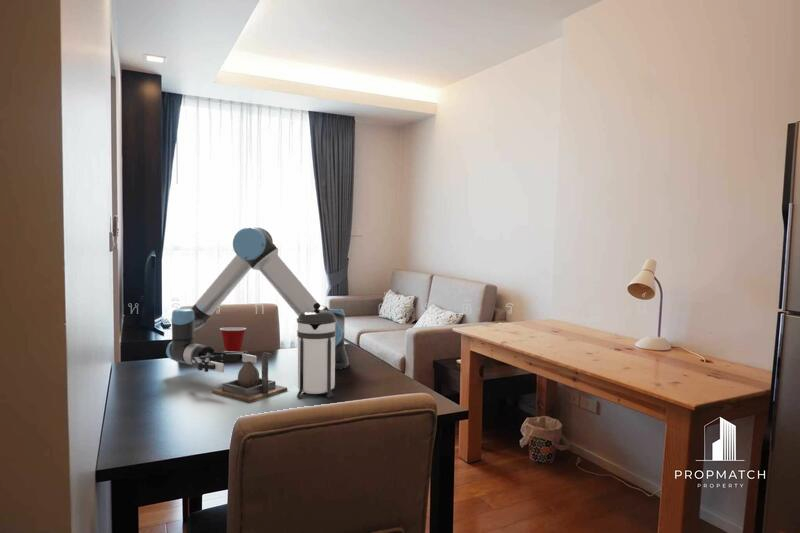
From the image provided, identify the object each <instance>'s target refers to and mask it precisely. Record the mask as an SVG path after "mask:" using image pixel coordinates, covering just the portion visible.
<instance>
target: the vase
mask: <svg viewBox="0 0 800 533" xmlns="http://www.w3.org/2000/svg"><path fill="white" fill-rule="evenodd" d="M259 378H260V373H259V370H258V368H257V367H256V366H255V364H253V362H251V361H248V362H243V365H242V366H241V368H240V369H239V371H238V373H237V379H238V384H239V386H240V387H243V388H247V389H248V388H251V387H254V386H257V385H258V383H259Z"/></svg>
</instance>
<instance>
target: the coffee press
mask: <svg viewBox="0 0 800 533" xmlns="http://www.w3.org/2000/svg"><path fill="white" fill-rule="evenodd" d="M320 305H321V304H320V303H319V302H318V303H315V304H314V306H313V307H314V309H315V310H308V311H304V312H302V313H301V314H300V315H299V316H298V317H297V318H296V323H297V330H296V337H297V388H298V393H297V394H296V397H297V398H298V399H300V400H303V398H304V397H305V395H307V394H310V395H318V394H324V395H325V396H326V398H327V399H332V398H334V394H333V391H332V389H333V390H335V386H336V379H335V378H336V370H335V336H336V329H335V323H336V321H337V319H336V318H335V315H334V314H333V313H332V312H330V311H326V310H319V308H320Z"/></svg>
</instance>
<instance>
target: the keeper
mask: <svg viewBox="0 0 800 533" xmlns="http://www.w3.org/2000/svg"><path fill="white" fill-rule="evenodd" d="M272 356H273V355H272V352H265V351H264V352H262V355H261V377H259V383H258V385H257V386H254V387H251V388H248V389H247V388H243V387H240V386H239V384H238V378H237V379H233V380H231V381H227V382H223V383H222V384H221V387H216V388H213V389H212V390H211V393H212V394H215V395H218V396H222V397H226V398H230V399H235V400H238V401H241V402H246V403H249V404H251V403H253V402H257V401H260V400H263V399H265V398H268V397H269V398H270V397H272V396H275V395H277V394H282V393H284V392H286V391H288V387H287V386H282V385H278V384H276V380H271V379H269V358H270V357H272Z"/></svg>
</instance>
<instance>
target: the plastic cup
mask: <svg viewBox="0 0 800 533" xmlns="http://www.w3.org/2000/svg"><path fill="white" fill-rule="evenodd" d="M219 330H220V332H221V336H222V341H223V348H224V351H233V352H242V347H243V340H244V335H245V332H246V330H247V327H241V326H240V327H237V326H236V327H235V326H234V327H232V326H231V327H229V326H228V327H220V328H219Z"/></svg>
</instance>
